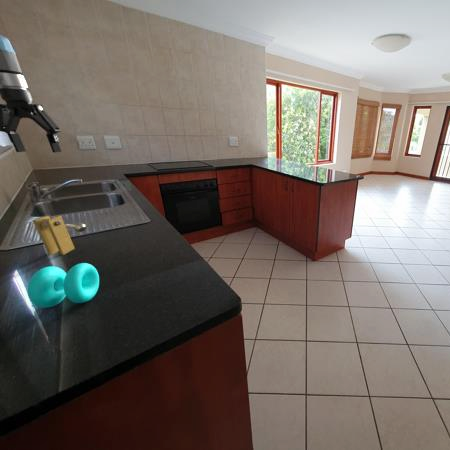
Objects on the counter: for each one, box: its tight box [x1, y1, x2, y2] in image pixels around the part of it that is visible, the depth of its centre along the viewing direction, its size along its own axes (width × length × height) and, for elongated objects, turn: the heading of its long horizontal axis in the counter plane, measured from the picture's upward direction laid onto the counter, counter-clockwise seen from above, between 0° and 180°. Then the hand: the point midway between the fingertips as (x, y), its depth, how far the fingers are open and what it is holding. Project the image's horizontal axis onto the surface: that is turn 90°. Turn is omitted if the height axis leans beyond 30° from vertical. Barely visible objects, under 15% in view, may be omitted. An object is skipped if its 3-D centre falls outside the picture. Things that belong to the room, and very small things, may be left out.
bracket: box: [32, 215, 75, 256], centre depth 79 cm, size 10×8×14 cm
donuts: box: [27, 262, 100, 309], centre depth 59 cm, size 10×10×10 cm
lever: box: [41, 219, 87, 233], centre depth 83 cm, size 14×3×3 cm, turn 0°
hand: (39, 152), depth 91 cm, fingers open, 13 cm apart
